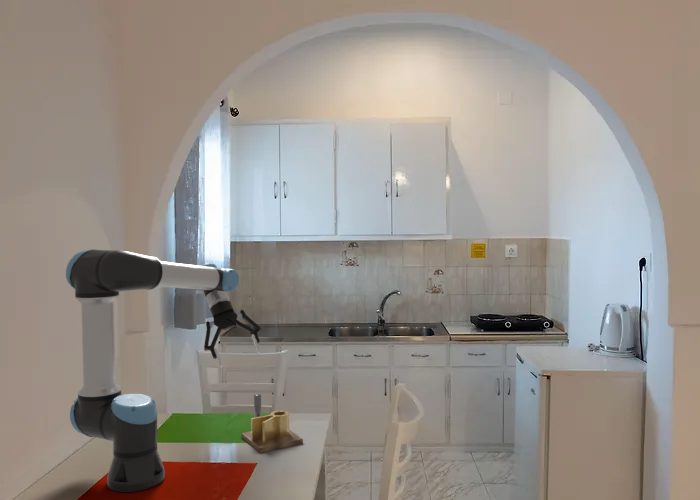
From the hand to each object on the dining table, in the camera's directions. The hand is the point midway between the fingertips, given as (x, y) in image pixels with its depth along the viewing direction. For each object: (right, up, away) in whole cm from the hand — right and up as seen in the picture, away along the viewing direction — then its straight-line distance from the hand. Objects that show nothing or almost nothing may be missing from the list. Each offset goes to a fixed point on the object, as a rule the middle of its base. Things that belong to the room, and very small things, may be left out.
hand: (240, 359), depth 205 cm
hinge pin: (+5, -25, +4) cm, 26 cm away
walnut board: (+12, -25, -7) cm, 29 cm away
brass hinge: (+12, -24, -9) cm, 28 cm away
